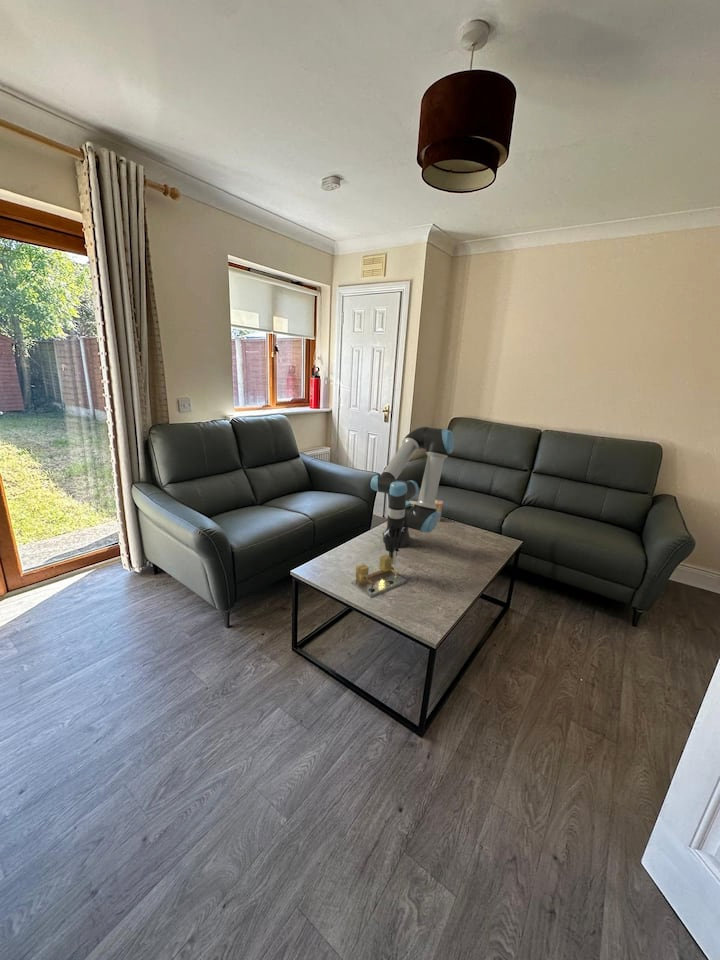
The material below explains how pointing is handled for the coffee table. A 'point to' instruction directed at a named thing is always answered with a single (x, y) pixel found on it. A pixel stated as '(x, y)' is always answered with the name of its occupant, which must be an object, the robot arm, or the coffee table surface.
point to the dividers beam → (364, 577)
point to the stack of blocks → (438, 505)
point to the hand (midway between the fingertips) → (392, 563)
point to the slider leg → (386, 564)
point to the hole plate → (380, 584)
